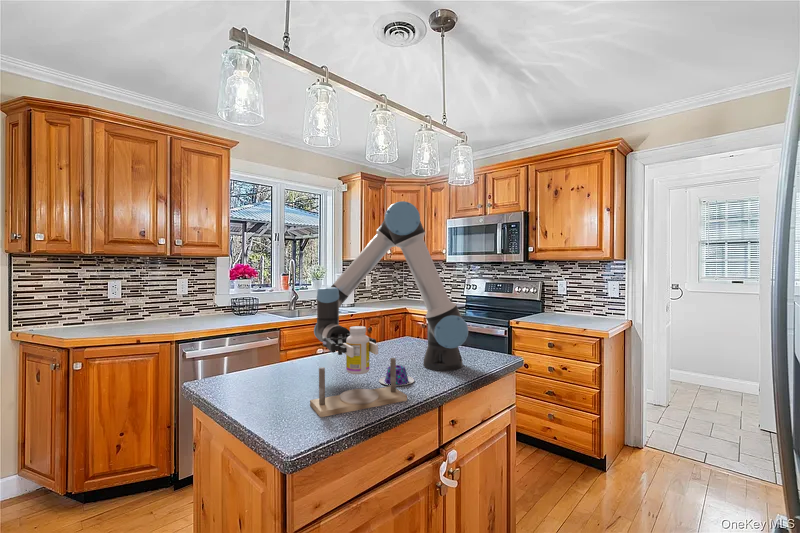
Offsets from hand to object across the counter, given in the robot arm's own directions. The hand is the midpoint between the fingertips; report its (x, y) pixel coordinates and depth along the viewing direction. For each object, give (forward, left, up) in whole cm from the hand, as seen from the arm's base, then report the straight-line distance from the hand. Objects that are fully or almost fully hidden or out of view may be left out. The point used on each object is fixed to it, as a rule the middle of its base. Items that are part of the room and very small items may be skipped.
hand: (364, 351), depth 110 cm
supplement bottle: (0, -5, -7) cm, 9 cm away
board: (0, -5, -16) cm, 17 cm away
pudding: (-19, -18, -16) cm, 31 cm away
